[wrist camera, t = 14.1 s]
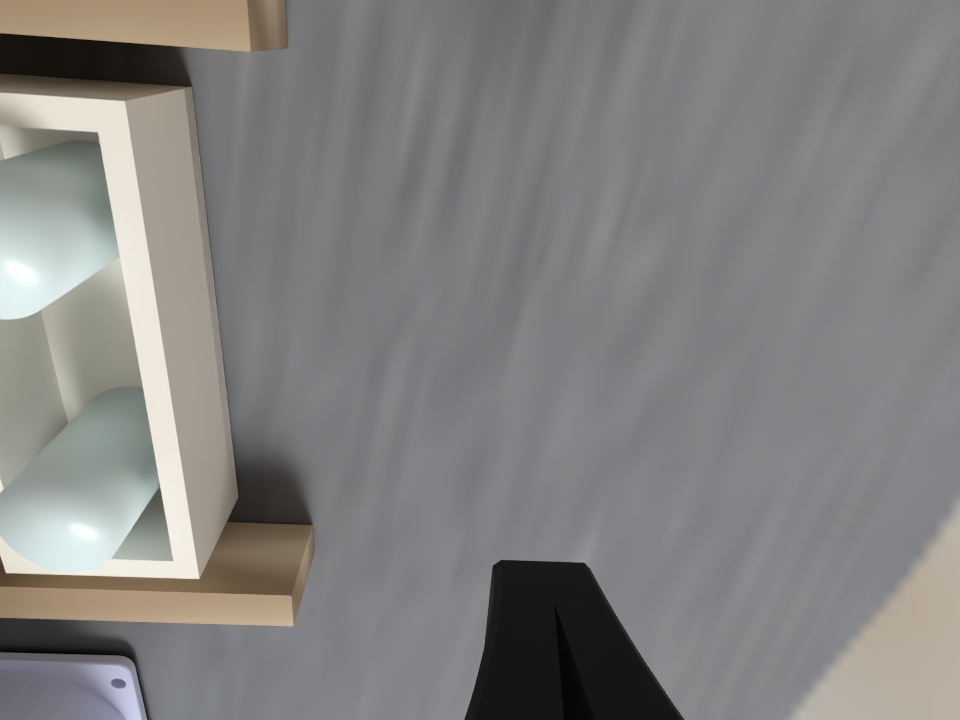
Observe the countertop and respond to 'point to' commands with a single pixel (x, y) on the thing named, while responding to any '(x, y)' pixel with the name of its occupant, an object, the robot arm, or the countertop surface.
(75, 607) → the light wooden angled piece
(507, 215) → the countertop surface
